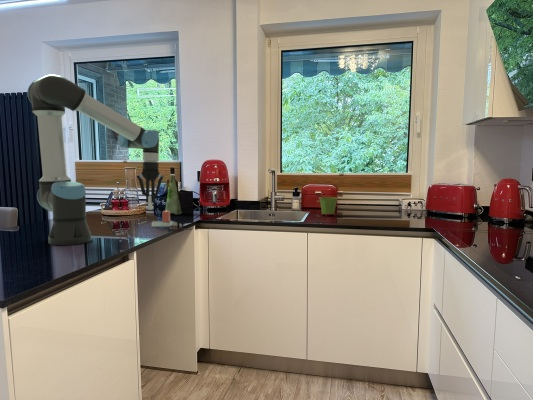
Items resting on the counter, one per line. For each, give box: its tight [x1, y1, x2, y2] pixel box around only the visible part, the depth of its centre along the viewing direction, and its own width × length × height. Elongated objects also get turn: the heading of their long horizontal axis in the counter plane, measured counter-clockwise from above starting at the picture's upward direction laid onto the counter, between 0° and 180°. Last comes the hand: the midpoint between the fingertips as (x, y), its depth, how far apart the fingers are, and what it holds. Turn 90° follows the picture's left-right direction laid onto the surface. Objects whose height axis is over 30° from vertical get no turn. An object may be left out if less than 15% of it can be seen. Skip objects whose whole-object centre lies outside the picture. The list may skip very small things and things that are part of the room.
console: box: [151, 220, 173, 228], centre depth 192 cm, size 5×9×2 cm, turn 95°
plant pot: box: [318, 196, 339, 215], centre depth 237 cm, size 12×12×11 cm
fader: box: [161, 210, 171, 222], centre depth 192 cm, size 5×3×5 cm, turn 5°
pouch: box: [164, 173, 182, 215], centre depth 235 cm, size 11×12×25 cm
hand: (150, 209), depth 190 cm, fingers closed
